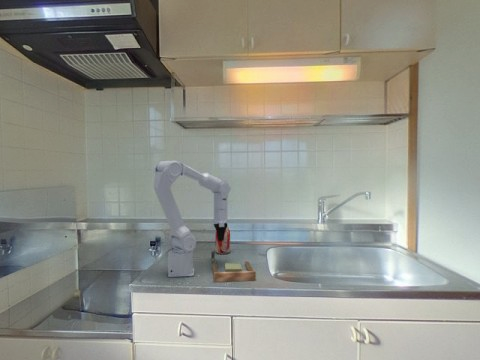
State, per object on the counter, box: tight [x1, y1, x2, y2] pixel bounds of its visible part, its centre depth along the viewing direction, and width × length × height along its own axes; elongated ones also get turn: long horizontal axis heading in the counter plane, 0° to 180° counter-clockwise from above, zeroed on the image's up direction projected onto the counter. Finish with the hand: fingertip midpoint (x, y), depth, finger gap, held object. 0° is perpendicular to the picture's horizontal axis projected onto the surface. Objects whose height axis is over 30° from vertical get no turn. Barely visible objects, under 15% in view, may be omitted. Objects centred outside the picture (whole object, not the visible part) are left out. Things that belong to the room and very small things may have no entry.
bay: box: [212, 261, 257, 283], centre depth 121 cm, size 15×18×3 cm
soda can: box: [214, 226, 231, 255], centre depth 149 cm, size 7×7×12 cm
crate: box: [224, 262, 243, 272], centre depth 118 cm, size 6×7×4 cm
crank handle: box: [210, 250, 216, 264], centre depth 137 cm, size 8×1×3 cm, turn 7°
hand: (220, 240), depth 132 cm, fingers closed
